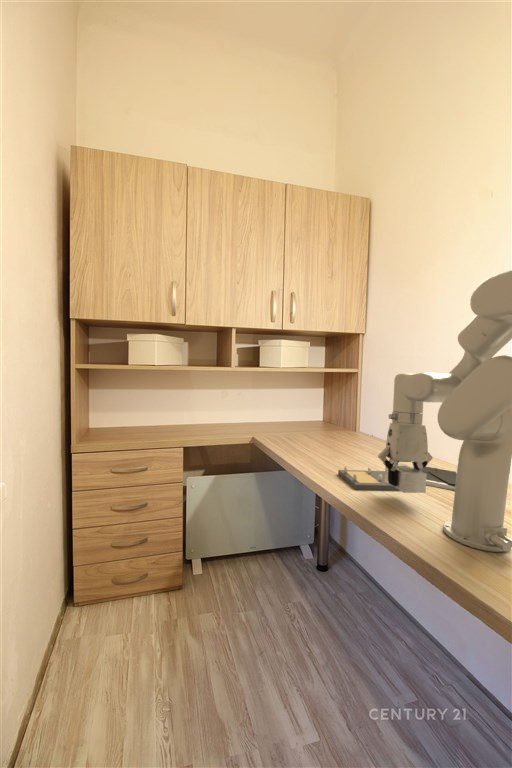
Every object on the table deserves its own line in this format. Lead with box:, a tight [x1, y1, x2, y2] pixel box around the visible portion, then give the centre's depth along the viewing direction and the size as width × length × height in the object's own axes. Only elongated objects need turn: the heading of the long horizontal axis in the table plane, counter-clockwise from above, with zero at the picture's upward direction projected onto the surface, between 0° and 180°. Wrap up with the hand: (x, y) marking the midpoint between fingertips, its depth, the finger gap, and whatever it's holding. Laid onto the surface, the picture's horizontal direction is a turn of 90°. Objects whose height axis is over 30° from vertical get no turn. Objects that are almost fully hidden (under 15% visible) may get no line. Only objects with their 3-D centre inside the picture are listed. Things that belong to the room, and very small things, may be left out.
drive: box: [384, 463, 427, 494], centre depth 96 cm, size 10×6×5 cm, turn 8°
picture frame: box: [412, 465, 457, 492], centre depth 120 cm, size 16×3×21 cm
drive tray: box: [337, 466, 401, 492], centre depth 111 cm, size 14×18×4 cm
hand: (404, 484), depth 96 cm, fingers closed on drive, 6 cm apart
